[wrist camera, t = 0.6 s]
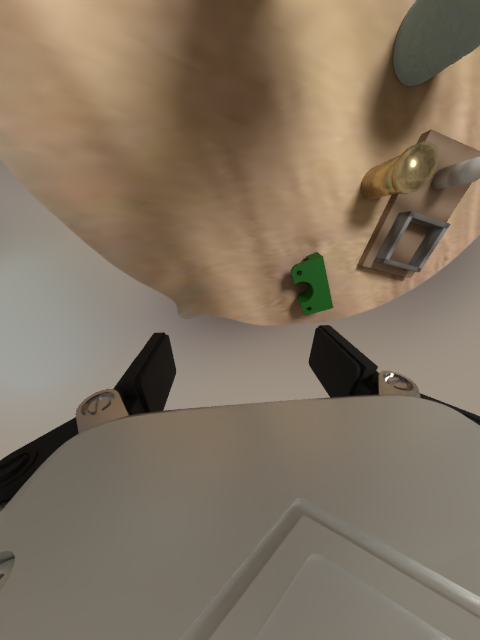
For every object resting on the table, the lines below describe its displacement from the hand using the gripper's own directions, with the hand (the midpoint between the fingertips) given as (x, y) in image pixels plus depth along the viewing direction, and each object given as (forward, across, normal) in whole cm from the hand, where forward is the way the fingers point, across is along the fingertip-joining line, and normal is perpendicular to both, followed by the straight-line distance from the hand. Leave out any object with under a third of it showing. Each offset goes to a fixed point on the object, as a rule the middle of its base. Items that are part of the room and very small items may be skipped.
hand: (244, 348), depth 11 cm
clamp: (+29, -17, +3) cm, 34 cm away
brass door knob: (+29, -27, -15) cm, 42 cm away
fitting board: (+29, -37, -10) cm, 48 cm away
